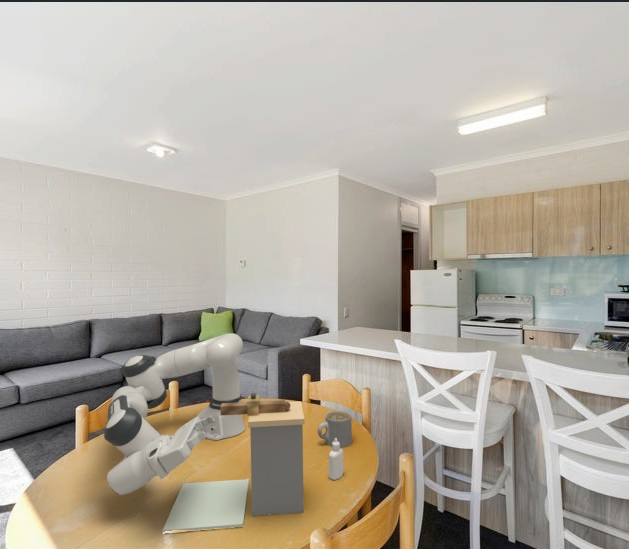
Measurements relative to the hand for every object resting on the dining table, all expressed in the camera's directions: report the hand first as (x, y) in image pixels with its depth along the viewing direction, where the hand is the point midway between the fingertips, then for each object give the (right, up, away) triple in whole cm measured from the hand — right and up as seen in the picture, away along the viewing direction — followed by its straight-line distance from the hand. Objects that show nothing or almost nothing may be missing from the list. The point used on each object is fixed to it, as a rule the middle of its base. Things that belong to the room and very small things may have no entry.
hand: (208, 425), depth 102 cm
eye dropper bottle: (+37, -22, +15) cm, 45 cm away
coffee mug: (+37, -22, +38) cm, 57 cm away
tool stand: (+19, -23, +3) cm, 30 cm away
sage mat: (0, -23, +1) cm, 23 cm away
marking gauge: (+12, +3, +2) cm, 13 cm away
